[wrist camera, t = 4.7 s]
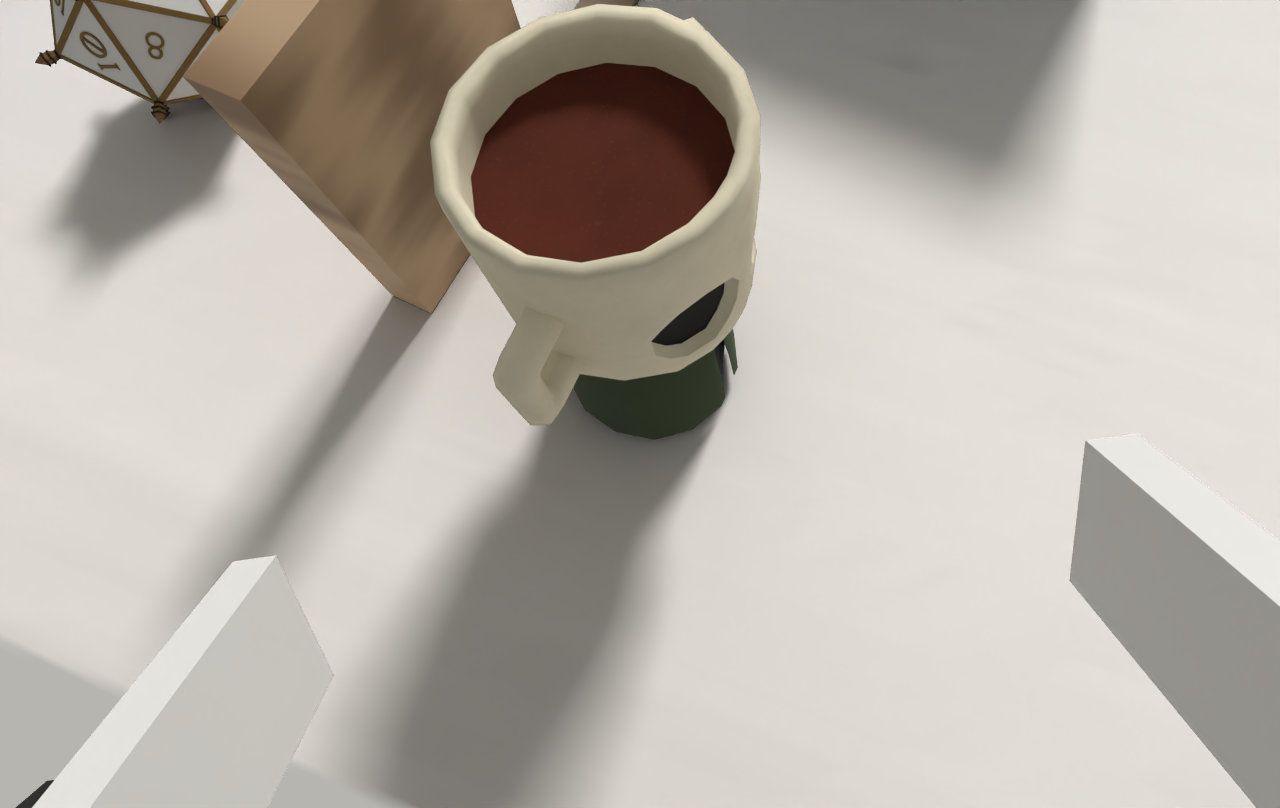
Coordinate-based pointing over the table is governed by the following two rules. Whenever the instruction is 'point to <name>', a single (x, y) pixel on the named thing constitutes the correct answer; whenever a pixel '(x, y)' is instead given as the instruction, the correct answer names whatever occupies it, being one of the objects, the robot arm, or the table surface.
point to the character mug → (608, 210)
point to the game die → (138, 42)
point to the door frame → (357, 116)
